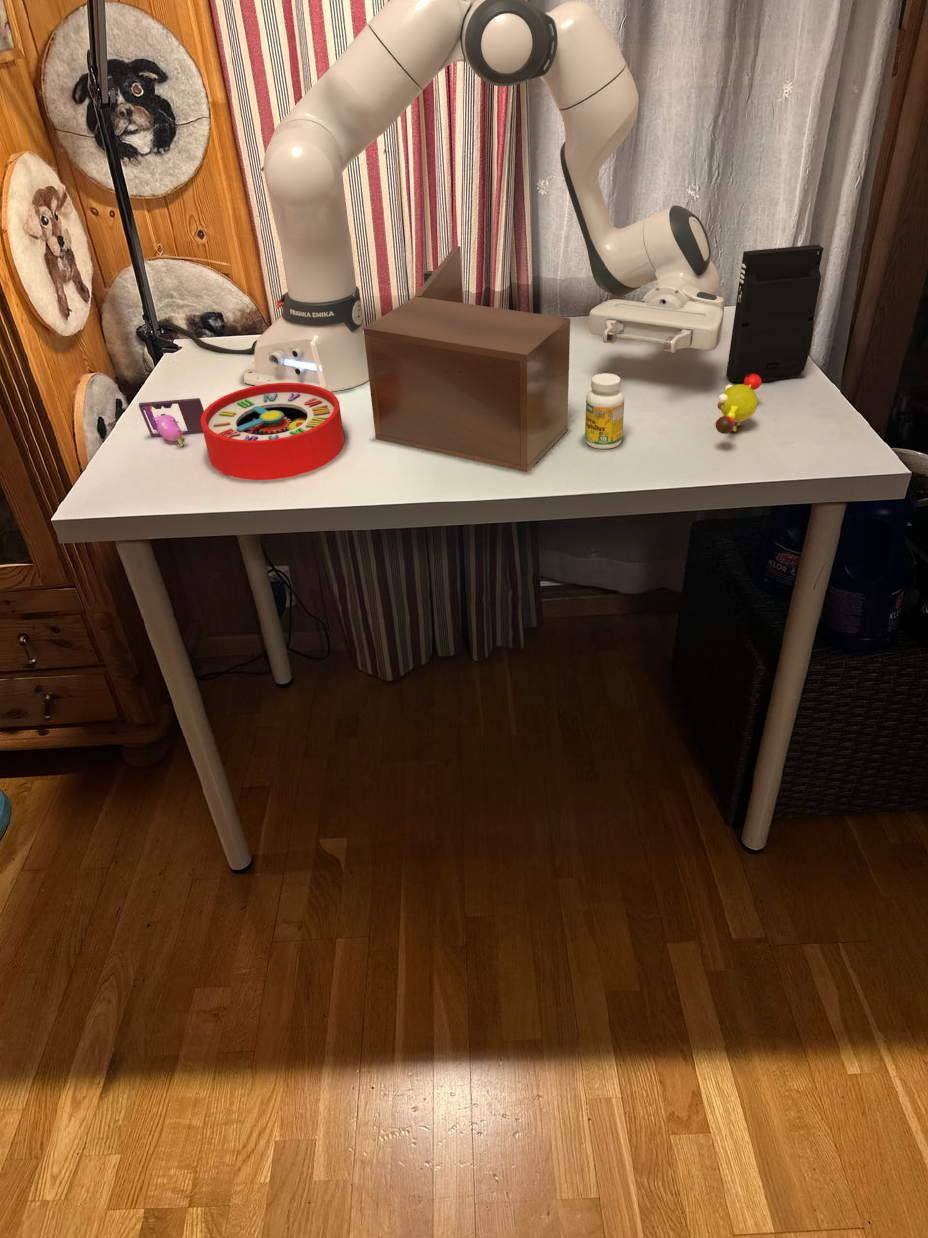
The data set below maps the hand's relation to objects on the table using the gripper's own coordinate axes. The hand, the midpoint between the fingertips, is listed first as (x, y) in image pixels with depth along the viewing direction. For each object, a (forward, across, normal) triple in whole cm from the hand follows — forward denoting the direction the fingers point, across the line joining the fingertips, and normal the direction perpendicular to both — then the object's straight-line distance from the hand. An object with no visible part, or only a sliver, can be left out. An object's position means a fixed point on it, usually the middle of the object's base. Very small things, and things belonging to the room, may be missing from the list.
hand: (638, 342), depth 136 cm
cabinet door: (-1, -37, +10) cm, 38 cm away
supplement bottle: (+12, 0, +11) cm, 16 cm away
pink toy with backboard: (+37, -59, +10) cm, 71 cm away
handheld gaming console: (-18, +15, +11) cm, 26 cm away
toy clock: (+33, -44, +10) cm, 56 cm away
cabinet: (+18, -19, +10) cm, 28 cm away
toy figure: (+1, +16, +11) cm, 19 cm away
